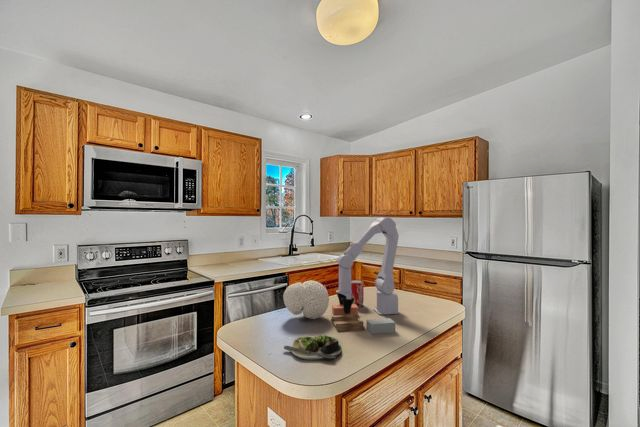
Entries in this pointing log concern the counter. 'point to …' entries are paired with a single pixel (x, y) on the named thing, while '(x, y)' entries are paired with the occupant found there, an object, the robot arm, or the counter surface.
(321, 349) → the salad plate
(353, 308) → the terracotta brick
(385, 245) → the robot arm
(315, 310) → the white rounded lumpy piece
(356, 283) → the soda can
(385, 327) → the gray block
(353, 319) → the jig
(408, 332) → the counter surface
